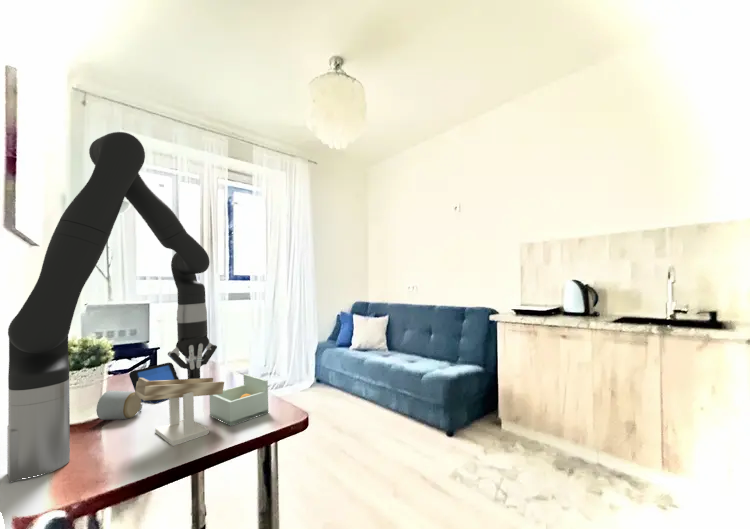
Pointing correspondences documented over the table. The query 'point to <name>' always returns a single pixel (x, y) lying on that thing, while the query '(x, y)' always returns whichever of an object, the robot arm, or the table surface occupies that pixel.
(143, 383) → the chute lever
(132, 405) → the grey canister
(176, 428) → the chute stand
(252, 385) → the bin
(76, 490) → the table surface
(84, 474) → the table surface
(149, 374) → the tablet display
